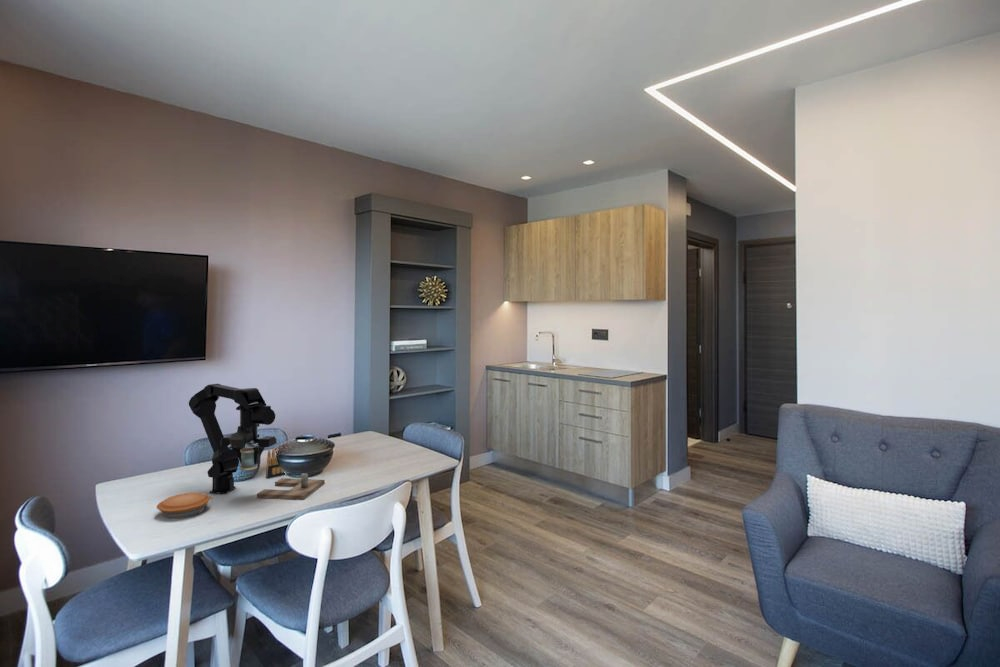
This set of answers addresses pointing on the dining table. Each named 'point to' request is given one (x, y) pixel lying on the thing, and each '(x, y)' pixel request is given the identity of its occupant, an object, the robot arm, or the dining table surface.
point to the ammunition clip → (273, 465)
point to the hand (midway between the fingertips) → (248, 463)
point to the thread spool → (247, 459)
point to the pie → (183, 505)
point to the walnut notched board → (299, 490)
